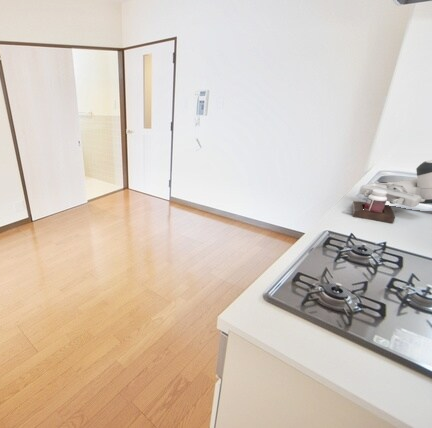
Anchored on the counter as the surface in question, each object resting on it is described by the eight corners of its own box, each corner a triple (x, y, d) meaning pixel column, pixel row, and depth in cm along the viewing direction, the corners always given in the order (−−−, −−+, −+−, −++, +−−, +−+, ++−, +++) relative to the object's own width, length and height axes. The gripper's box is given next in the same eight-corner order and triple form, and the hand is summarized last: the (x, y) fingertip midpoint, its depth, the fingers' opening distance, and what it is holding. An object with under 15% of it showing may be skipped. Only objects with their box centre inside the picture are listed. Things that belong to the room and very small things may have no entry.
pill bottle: (383, 215, 123) (392, 191, 118) (376, 218, 121) (385, 194, 116) (366, 210, 128) (375, 187, 123) (359, 213, 126) (367, 190, 121)
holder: (388, 212, 126) (390, 206, 124) (392, 223, 116) (395, 216, 115) (351, 206, 133) (353, 200, 131) (352, 216, 123) (354, 210, 122)
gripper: (424, 206, 119) (406, 213, 114) (368, 192, 136) (350, 197, 131) (430, 193, 116) (412, 199, 112) (372, 180, 134) (354, 185, 129)
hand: (378, 198), depth 122 cm, fingers open, 8 cm apart
